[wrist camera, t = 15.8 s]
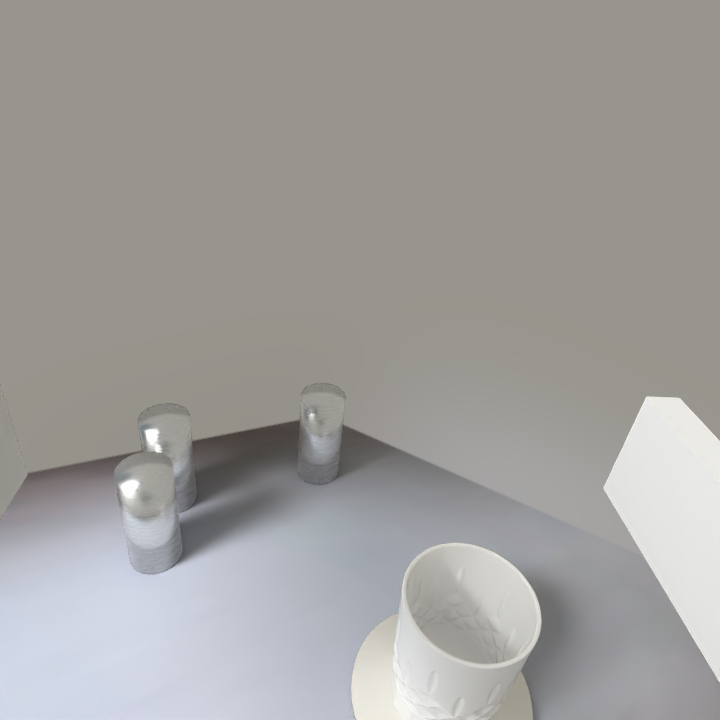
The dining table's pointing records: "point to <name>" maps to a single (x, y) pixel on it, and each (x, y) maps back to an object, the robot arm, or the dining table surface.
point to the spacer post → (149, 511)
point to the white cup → (461, 633)
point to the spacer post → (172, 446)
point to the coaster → (375, 690)
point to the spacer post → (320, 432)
